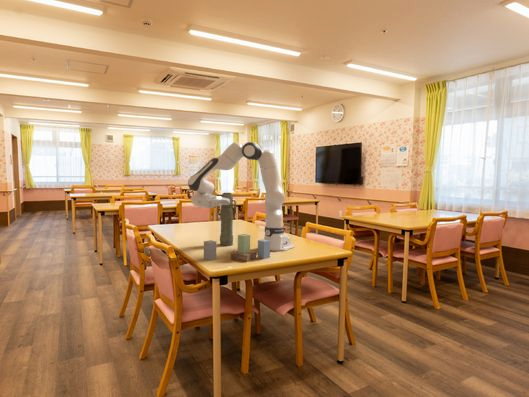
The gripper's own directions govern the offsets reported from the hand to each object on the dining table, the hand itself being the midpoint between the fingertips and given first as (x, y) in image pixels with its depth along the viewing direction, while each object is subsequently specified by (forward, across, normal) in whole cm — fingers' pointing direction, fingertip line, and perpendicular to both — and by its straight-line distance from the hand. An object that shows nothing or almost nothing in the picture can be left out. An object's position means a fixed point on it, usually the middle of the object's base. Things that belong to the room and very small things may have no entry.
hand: (223, 203), depth 211 cm
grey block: (+9, -17, +30) cm, 36 cm away
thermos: (-14, +15, +30) cm, 37 cm away
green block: (+21, -2, +26) cm, 34 cm away
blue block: (+27, +8, +30) cm, 41 cm away
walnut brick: (+21, -2, +30) cm, 37 cm away
